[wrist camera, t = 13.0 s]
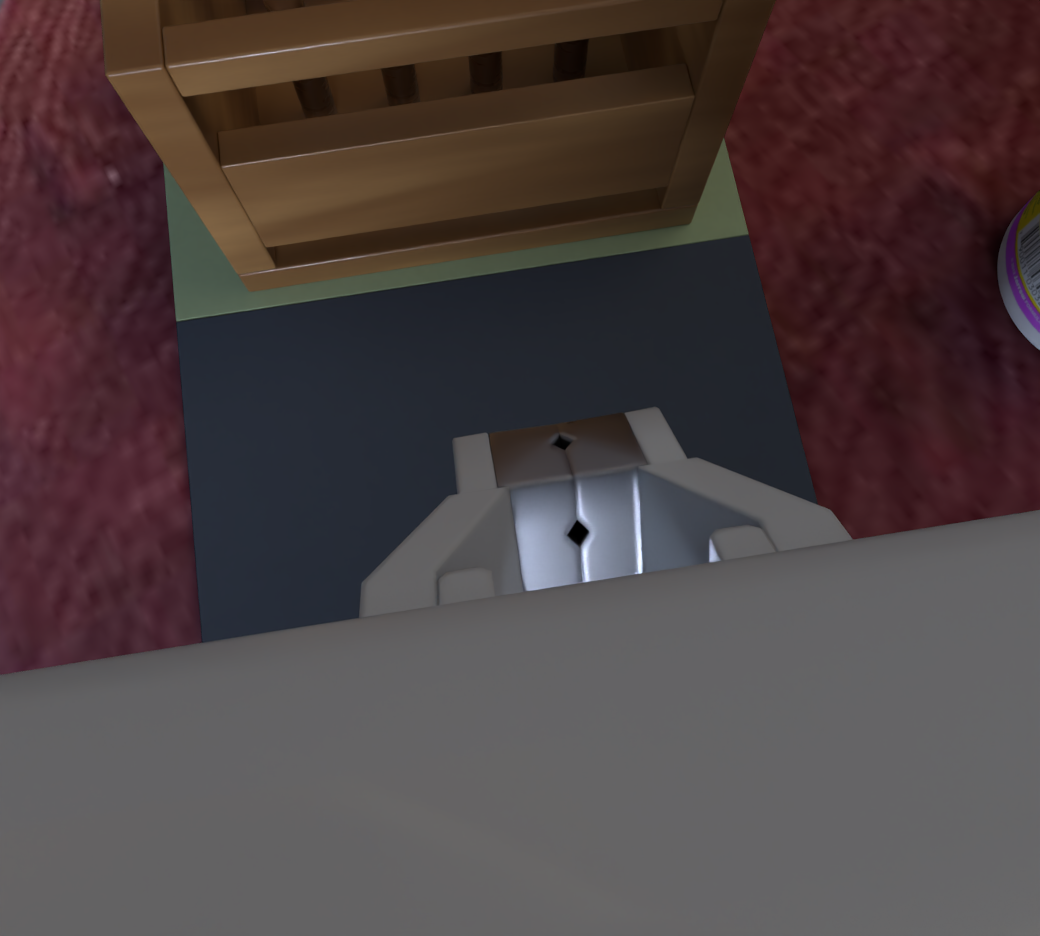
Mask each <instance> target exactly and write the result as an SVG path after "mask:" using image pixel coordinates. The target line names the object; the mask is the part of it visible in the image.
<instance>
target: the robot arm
mask: <svg viewBox="0 0 1040 936" xmlns="http://www.w3.org/2000/svg"><path fill="white" fill-rule="evenodd" d="M488 434H489V437H488ZM488 434H487V433H486V432H485V433H480V434H474V435H468V436H463V437H457V438H453V441H452V444H453V454H454V464H455V475H456V485H457V494H455V495H449V496H447V497H446V498H445V499H444V500H443V502H442V503H441V504H440V505H439V506H438V507H437V508H436V509H435V510H434V511H433V512H432V513H431V514H430V515H429V516H428V517H427V518H426V519H425V520H424V521H423V522H422V523H421V524H420V525H419V526H418V527H417V528H416V529H415V530H414V531H413V532H412V533H411V534H410V535H409V536H408V537H407V538H406V539H405V540H404V541H403V542H402V543H401V544H400V545H399V546H398V547H397V548H396V549H395V550H394V551H393V552H392V553H391V554H390V555H389V556H388V557H387V558H386V559H385V560H384V561H383V562H382V563H381V564H380V565H379V566H378V567H377V568H376V569H375V570H374V571H373V572H372V573H371V574H370V575H369V576H368V577H367V578H366V579H365V580H364V581H363V582H362V584H361V597H360V611H359V618H355V619H349V620H342V621H336V622H330V623H323V624H317V625H311V626H304V627H298V628H292V629H285V630H279V631H273V632H267V633H260V634H254V635H248V636H242V637H235V638H229V639H223V640H216V641H210V642H204V643H198V644H191V645H185V646H179V647H173V648H166V649H160V650H154V651H148V652H141V653H135V654H129V655H123V656H116V657H110V658H104V659H97V660H91V661H85V662H79V663H72V664H66V665H60V666H53V667H47V668H41V669H34V670H28V671H22V672H16V673H9V674H3V675H0V936H1040V510H1036V511H1030V512H1024V513H1018V514H1011V515H1005V516H999V517H992V518H986V519H980V520H974V521H967V522H961V523H955V524H948V525H942V526H936V527H930V528H923V529H917V530H911V531H904V532H898V533H892V534H886V535H879V536H873V537H867V538H860V539H854V540H853V539H852V538H851V536H850V535H849V534H848V532H847V531H846V530H845V528H844V527H843V526H842V524H841V523H840V522H839V520H838V519H837V518H836V516H835V515H834V514H833V512H832V511H831V510H830V509H827V508H824V507H822V506H819V505H817V504H814V503H812V502H809V501H807V500H804V499H802V498H799V497H796V496H794V495H791V494H789V493H786V492H784V491H781V490H779V489H776V488H774V487H771V486H769V485H766V484H763V483H761V482H758V481H756V480H753V479H751V478H748V477H746V476H743V475H741V474H738V473H736V472H733V471H730V470H728V469H725V468H723V467H720V466H718V465H715V464H713V463H710V462H708V461H705V460H703V459H700V458H697V457H696V458H689V459H687V457H686V455H685V453H684V452H683V450H682V448H681V446H680V444H679V443H678V441H677V439H676V437H675V436H674V434H673V432H672V430H671V429H670V427H669V425H668V423H667V421H666V420H665V418H664V416H663V414H662V413H661V411H660V409H659V408H657V407H651V408H646V409H641V410H636V411H631V412H626V413H623V412H622V413H616V414H610V415H604V416H599V417H593V418H587V419H582V420H576V421H570V422H564V423H559V424H551V425H544V426H536V427H529V428H521V429H514V430H506V431H499V432H491V433H488ZM489 441H490V443H489Z"/></svg>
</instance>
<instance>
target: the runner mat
mask: <svg viewBox="0 0 1040 936" xmlns="http://www.w3.org/2000/svg"><path fill="white" fill-rule="evenodd" d="M163 165H164V177H165V190H166V202H167V214H168V227H169V239H170V251H171V263H172V276H173V288H174V300H175V313H176V321H177V323H176V325H177V337H178V350H179V362H180V374H181V387H182V399H183V411H184V424H185V436H186V448H187V461H188V473H189V485H190V498H191V510H192V522H193V534H194V547H195V559H196V571H197V584H198V596H199V608H200V621H201V633H202V643H204V642H210V641H216V640H223V639H229V638H235V637H242V636H248V635H254V634H260V633H267V632H273V631H279V630H285V629H292V628H298V627H304V626H311V625H317V624H323V623H330V622H336V621H342V620H349V619H355V618H359V611H360V597H361V584H362V582H363V581H364V580H365V579H366V578H367V577H368V576H369V575H370V574H371V573H372V572H373V571H374V570H375V569H376V568H377V567H378V566H379V565H380V564H381V563H382V562H383V561H384V560H385V559H386V558H387V557H388V556H389V555H390V554H391V553H392V552H393V551H394V550H395V549H396V548H397V547H398V546H399V545H400V544H401V543H402V542H403V541H404V540H405V539H406V538H407V537H408V536H409V535H410V534H411V533H412V532H413V531H414V530H415V529H416V528H417V527H418V526H419V525H420V524H421V523H422V522H423V521H424V520H425V519H426V518H427V517H428V516H429V515H430V514H431V513H432V512H433V511H434V510H435V509H436V508H437V507H438V506H439V505H440V504H441V503H442V502H443V500H444V499H445V498H446V497H447V496H449V495H455V494H457V485H456V475H455V464H454V454H453V444H452V441H453V438H457V437H463V436H468V435H474V434H480V433H485V432H486V433H487V434H488V433H491V432H499V431H506V430H514V429H521V428H529V427H536V426H544V425H551V424H559V423H564V422H570V421H576V420H582V419H587V418H593V417H599V416H604V415H610V414H616V413H622V412H623V413H626V412H631V411H636V410H641V409H646V408H651V407H657V408H659V409H660V411H661V413H662V414H663V416H664V418H665V420H666V421H667V423H668V425H669V427H670V429H671V430H672V432H673V434H674V436H675V437H676V439H677V441H678V443H679V444H680V446H681V448H682V450H683V452H684V453H685V455H686V457H687V459H689V458H696V457H697V458H700V459H703V460H705V461H708V462H710V463H713V464H715V465H718V466H720V467H723V468H725V469H728V470H730V471H733V472H736V473H738V474H741V475H743V476H746V477H748V478H751V479H753V480H756V481H758V482H761V483H763V484H766V485H769V486H771V487H774V488H776V489H779V490H781V491H784V492H786V493H789V494H791V495H794V496H796V497H799V498H802V499H804V500H807V501H809V502H812V503H814V504H817V505H818V503H817V499H816V496H815V492H814V488H813V484H812V480H811V476H810V472H809V468H808V464H807V460H806V456H805V453H804V449H803V445H802V441H801V437H800V433H799V429H798V425H797V421H796V417H795V414H794V410H793V406H792V402H791V398H790V394H789V390H788V386H787V382H786V378H785V374H784V371H783V367H782V363H781V359H780V355H779V351H778V347H777V343H776V339H775V335H774V332H773V328H772V324H771V320H770V316H769V312H768V308H767V304H766V300H765V296H764V292H763V289H762V285H761V281H760V277H759V273H758V269H757V265H756V261H755V257H754V253H753V250H752V246H751V242H750V238H749V235H748V230H747V226H746V222H745V218H744V214H743V210H742V207H741V203H740V199H739V195H738V191H737V187H736V183H735V179H734V175H733V171H732V168H731V164H730V160H729V156H728V152H727V148H726V144H725V140H724V138H723V141H722V143H721V146H720V149H719V151H718V154H717V157H716V159H715V162H714V165H713V167H712V170H711V172H710V175H709V178H708V180H707V183H706V186H705V188H704V191H703V194H702V196H701V199H700V202H699V203H698V206H697V209H696V211H695V214H694V217H693V219H692V222H691V223H690V224H685V225H679V226H673V227H666V228H660V229H653V230H647V231H640V232H634V233H627V234H621V235H615V236H608V237H602V238H595V239H589V240H582V241H576V242H570V243H563V244H557V245H550V246H544V247H537V248H531V249H524V250H518V251H512V252H505V253H499V254H492V255H486V256H479V257H473V258H467V259H460V260H454V261H447V262H441V263H434V264H428V265H421V266H415V267H409V268H402V269H396V270H389V271H383V272H376V273H370V274H364V275H357V276H351V277H344V278H338V279H331V280H325V281H318V282H312V283H306V284H299V285H293V286H286V287H280V288H273V289H267V290H261V291H254V292H249V291H248V290H247V288H246V287H245V285H244V284H243V282H242V280H241V279H240V277H239V276H238V274H237V273H236V272H235V270H234V269H233V267H232V265H231V264H230V262H229V261H228V259H227V258H226V256H225V255H224V253H223V252H222V250H221V249H220V247H219V246H218V244H217V243H216V241H215V240H214V238H213V237H212V235H211V234H210V232H209V231H208V229H207V228H206V226H205V225H204V223H203V222H202V220H201V219H200V217H199V216H198V214H197V213H196V211H195V210H194V208H193V207H192V205H191V204H190V202H189V201H188V199H187V198H186V196H185V195H184V193H183V192H182V190H181V188H180V187H179V185H178V184H177V182H176V181H175V179H174V178H173V176H172V175H171V173H170V172H169V170H168V169H167V167H166V166H165V164H164V163H163ZM488 437H489V434H488ZM489 443H490V441H489Z"/></svg>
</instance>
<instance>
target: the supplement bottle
mask: <svg viewBox="0 0 1040 936" xmlns="http://www.w3.org/2000/svg"><path fill="white" fill-rule="evenodd" d="M997 275H998V283H999V289H1000V293H1001V296H1002V299H1003V302H1004V305H1005V307H1006V309H1007V311H1008V313H1009V315H1010V317H1011V318H1012V320H1013V322H1014V323H1015V325H1016V326H1017V328H1018V329H1019V330H1020V331H1021V333H1022V334H1023V335H1024V336H1025V337H1026V338H1027V339H1028V340H1029V341H1030V342H1031V343H1032V344H1033V345H1034V346H1035V347H1036V348H1038V349H1039V350H1040V190H1039V191H1038V192H1037V193H1036V194H1035V195H1034V196H1033V197H1032V198H1031V199H1030V200H1029V201H1028V202H1027V203H1026V204H1025V205H1024V207H1023V208H1022V209H1021V210H1020V211H1019V212H1018V213H1017V215H1016V216H1015V217H1014V219H1013V220H1012V221H1011V223H1010V225H1009V226H1008V228H1007V231H1006V233H1005V235H1004V237H1003V240H1002V243H1001V246H1000V250H999V254H998V264H997Z"/></svg>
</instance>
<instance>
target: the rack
mask: <svg viewBox="0 0 1040 936" xmlns="http://www.w3.org/2000/svg"><path fill="white" fill-rule="evenodd" d="M775 1H776V0H100V7H101V22H102V36H103V50H104V64H105V75H106V77H107V78H108V80H109V81H110V83H111V84H112V86H113V87H114V89H115V90H116V92H117V93H118V95H119V96H120V98H121V99H122V101H123V102H124V104H125V105H126V107H127V108H128V110H129V111H130V113H131V115H132V116H133V118H134V119H135V121H136V122H137V124H138V125H139V127H140V128H141V130H142V131H143V133H144V134H145V136H146V137H147V139H148V140H149V142H150V143H151V145H152V146H153V148H154V149H155V151H156V152H157V154H158V155H159V157H160V158H161V160H162V161H163V163H164V164H165V166H166V167H167V169H168V170H169V172H170V173H171V175H172V176H173V178H174V179H175V181H176V182H177V184H178V185H179V187H180V188H181V190H182V192H183V193H184V195H185V196H186V198H187V199H188V201H189V202H190V204H191V205H192V207H193V208H194V210H195V211H196V213H197V214H198V216H199V217H200V219H201V220H202V222H203V223H204V225H205V226H206V228H207V229H208V231H209V232H210V234H211V235H212V237H213V238H214V240H215V241H216V243H217V244H218V246H219V247H220V249H221V250H222V252H223V253H224V255H225V256H226V258H227V259H228V261H229V262H230V264H231V265H232V267H233V269H234V270H235V272H236V273H237V274H238V276H239V277H240V279H241V280H242V282H243V284H244V285H245V287H246V288H247V290H248V291H249V292H254V291H261V290H267V289H273V288H280V287H286V286H293V285H299V284H306V283H312V282H318V281H325V280H331V279H338V278H344V277H351V276H357V275H364V274H370V273H376V272H383V271H389V270H396V269H402V268H409V267H415V266H421V265H428V264H434V263H441V262H447V261H454V260H460V259H467V258H473V257H479V256H486V255H492V254H499V253H505V252H512V251H518V250H524V249H531V248H537V247H544V246H550V245H557V244H563V243H570V242H576V241H582V240H589V239H595V238H602V237H608V236H615V235H621V234H627V233H634V232H640V231H647V230H653V229H660V228H666V227H673V226H679V225H685V224H690V223H691V222H692V219H693V217H694V214H695V211H696V209H697V206H698V203H699V202H700V199H701V196H702V194H703V191H704V188H705V186H706V183H707V180H708V178H709V175H710V172H711V170H712V167H713V165H714V162H715V159H716V157H717V154H718V151H719V149H720V146H721V143H722V141H723V138H724V136H725V133H726V130H727V128H728V125H729V122H730V120H731V117H732V114H733V112H734V109H735V107H736V104H737V101H738V99H739V96H740V93H741V91H742V88H743V85H744V83H745V80H746V78H747V75H748V72H749V70H750V67H751V64H752V62H753V59H754V56H755V54H756V51H757V48H758V46H759V43H760V41H761V38H762V35H763V33H764V30H765V27H766V25H767V22H768V19H769V17H770V14H771V12H772V9H773V6H774V4H775Z"/></svg>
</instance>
